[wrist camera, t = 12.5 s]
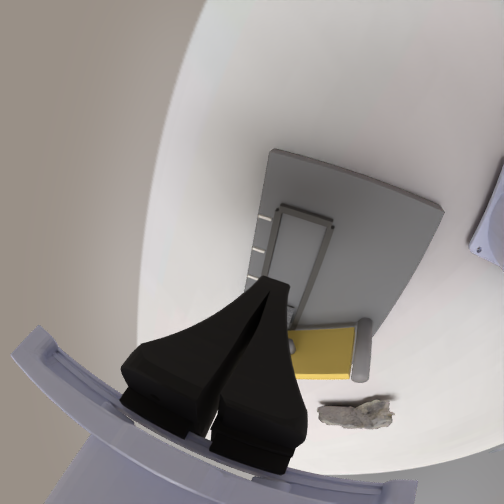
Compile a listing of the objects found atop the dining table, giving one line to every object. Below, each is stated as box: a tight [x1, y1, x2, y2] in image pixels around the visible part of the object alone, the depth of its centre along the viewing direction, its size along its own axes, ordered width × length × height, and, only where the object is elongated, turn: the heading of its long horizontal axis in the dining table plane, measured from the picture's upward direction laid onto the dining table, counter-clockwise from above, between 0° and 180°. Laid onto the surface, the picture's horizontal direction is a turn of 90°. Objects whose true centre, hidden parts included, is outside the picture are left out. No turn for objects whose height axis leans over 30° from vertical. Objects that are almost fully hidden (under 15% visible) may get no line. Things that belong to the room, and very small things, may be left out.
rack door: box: [288, 327, 355, 379], centre depth 22 cm, size 2×7×5 cm, turn 112°
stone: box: [317, 400, 395, 429], centre depth 31 cm, size 6×12×4 cm, turn 123°
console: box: [244, 149, 445, 383], centre depth 21 cm, size 13×20×7 cm, turn 171°
